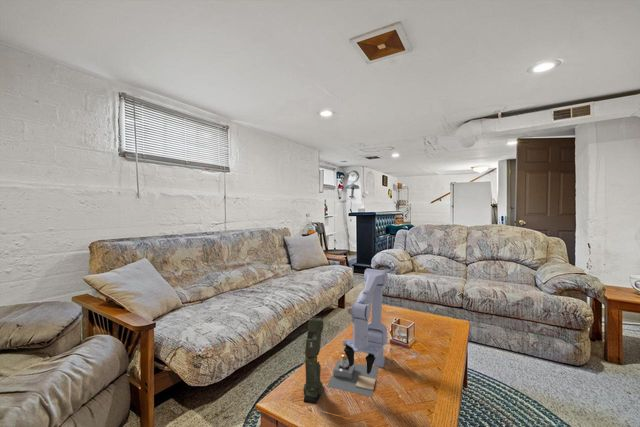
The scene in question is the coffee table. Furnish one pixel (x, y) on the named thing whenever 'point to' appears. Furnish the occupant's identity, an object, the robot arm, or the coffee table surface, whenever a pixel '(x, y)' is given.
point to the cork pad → (365, 383)
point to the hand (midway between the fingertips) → (360, 368)
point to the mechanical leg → (313, 361)
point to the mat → (354, 380)
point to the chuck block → (343, 371)
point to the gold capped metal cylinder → (344, 361)
